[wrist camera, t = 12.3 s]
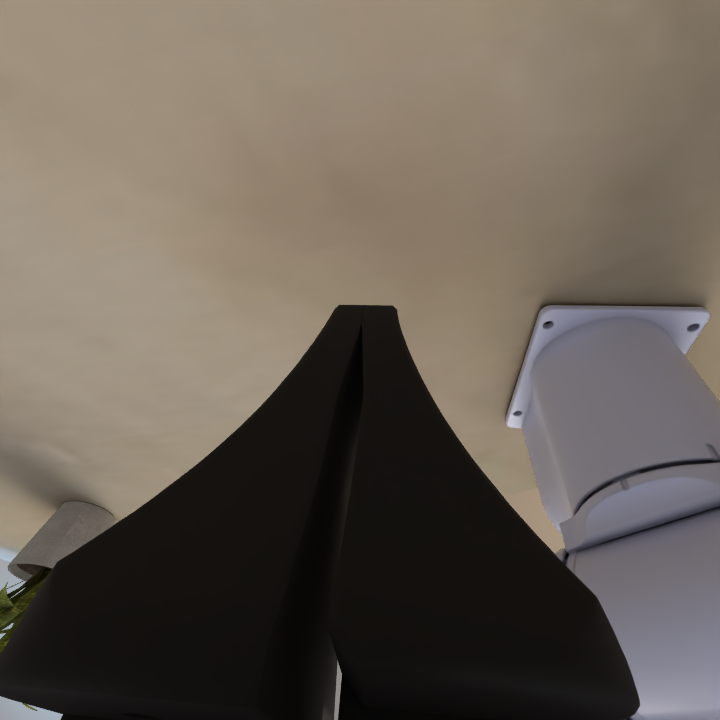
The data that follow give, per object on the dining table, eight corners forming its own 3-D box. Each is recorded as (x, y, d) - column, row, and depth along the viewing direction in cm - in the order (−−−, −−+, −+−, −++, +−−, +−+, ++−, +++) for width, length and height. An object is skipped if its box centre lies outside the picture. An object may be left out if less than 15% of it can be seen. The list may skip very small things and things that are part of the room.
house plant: (124, 472, 36) (-16, 719, 24) (189, 542, 45) (112, 745, 33) (-15, 473, 38) (-208, 700, 26) (74, 540, 47) (-38, 730, 35)
